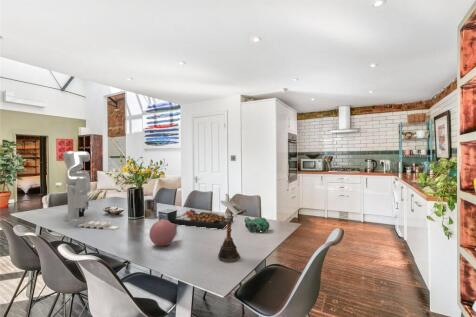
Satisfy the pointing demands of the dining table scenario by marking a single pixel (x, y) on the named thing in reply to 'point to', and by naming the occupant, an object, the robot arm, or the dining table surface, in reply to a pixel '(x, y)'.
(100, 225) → the domino
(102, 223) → the domino
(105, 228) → the domino
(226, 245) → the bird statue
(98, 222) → the domino
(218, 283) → the dining table surface
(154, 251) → the dining table surface
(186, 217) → the food platter
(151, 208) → the coffee box
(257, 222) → the mineral
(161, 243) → the dusty pink rubber ball
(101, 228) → the track board
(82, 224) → the domino
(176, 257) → the dining table surface
